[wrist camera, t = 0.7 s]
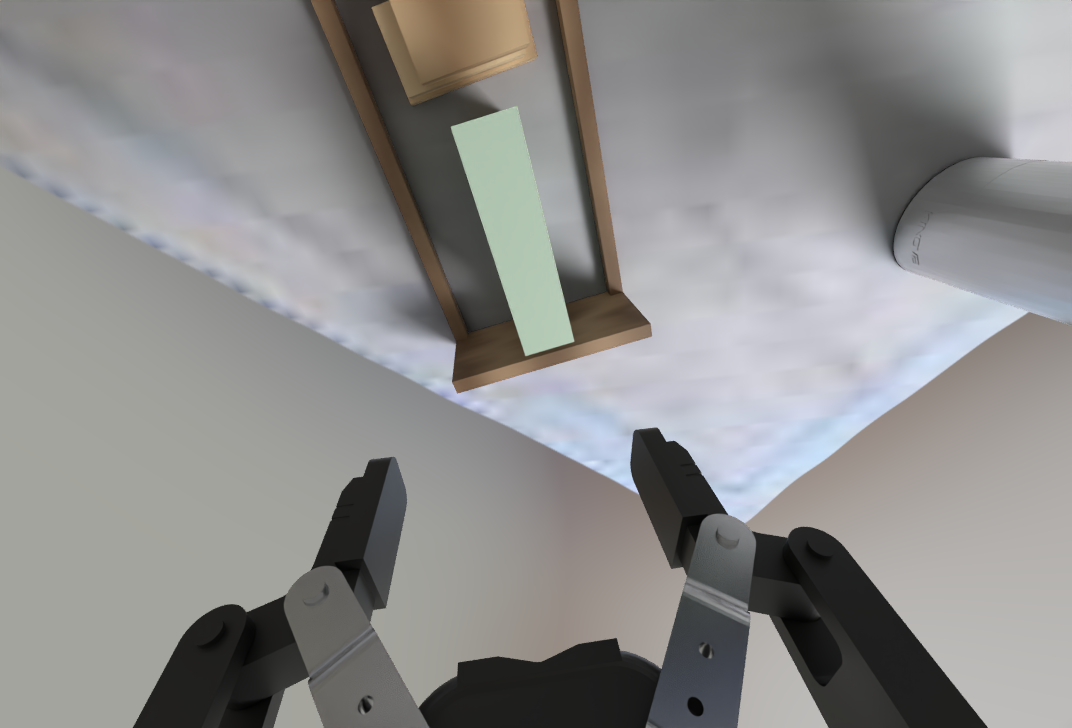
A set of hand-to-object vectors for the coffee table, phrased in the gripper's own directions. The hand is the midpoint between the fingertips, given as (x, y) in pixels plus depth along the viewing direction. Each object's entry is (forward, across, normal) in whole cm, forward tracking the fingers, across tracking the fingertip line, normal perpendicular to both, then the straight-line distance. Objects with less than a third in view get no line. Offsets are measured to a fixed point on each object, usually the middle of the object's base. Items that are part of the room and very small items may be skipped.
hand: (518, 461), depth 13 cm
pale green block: (+20, -1, -4) cm, 21 cm away
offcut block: (+20, +1, -14) cm, 25 cm away
